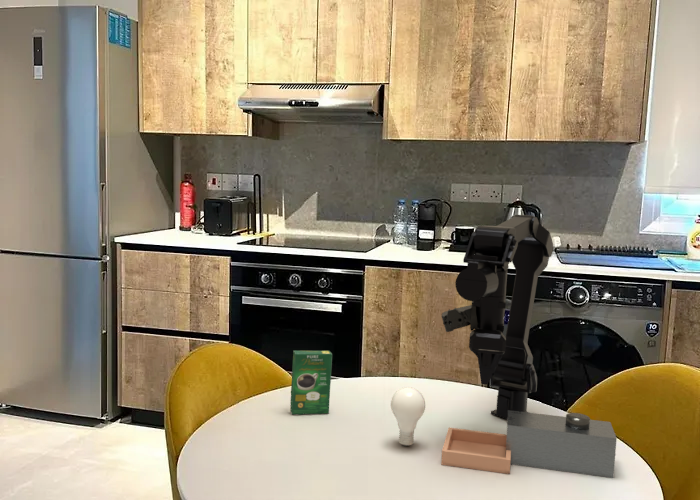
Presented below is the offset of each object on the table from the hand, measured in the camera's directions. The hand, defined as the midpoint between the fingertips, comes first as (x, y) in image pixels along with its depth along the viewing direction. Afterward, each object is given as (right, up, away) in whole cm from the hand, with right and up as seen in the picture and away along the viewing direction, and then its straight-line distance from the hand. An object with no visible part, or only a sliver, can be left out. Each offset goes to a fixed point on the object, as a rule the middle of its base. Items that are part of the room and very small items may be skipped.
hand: (484, 377), depth 125 cm
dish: (-2, -13, -4) cm, 14 cm away
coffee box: (-33, -10, +15) cm, 38 cm away
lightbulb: (-15, -13, 0) cm, 19 cm away
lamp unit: (+12, -14, -5) cm, 19 cm away
